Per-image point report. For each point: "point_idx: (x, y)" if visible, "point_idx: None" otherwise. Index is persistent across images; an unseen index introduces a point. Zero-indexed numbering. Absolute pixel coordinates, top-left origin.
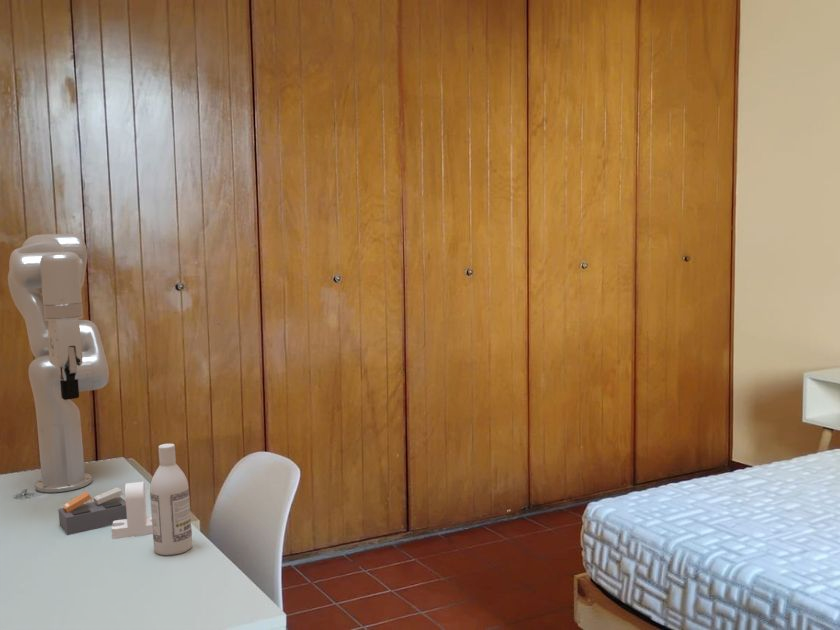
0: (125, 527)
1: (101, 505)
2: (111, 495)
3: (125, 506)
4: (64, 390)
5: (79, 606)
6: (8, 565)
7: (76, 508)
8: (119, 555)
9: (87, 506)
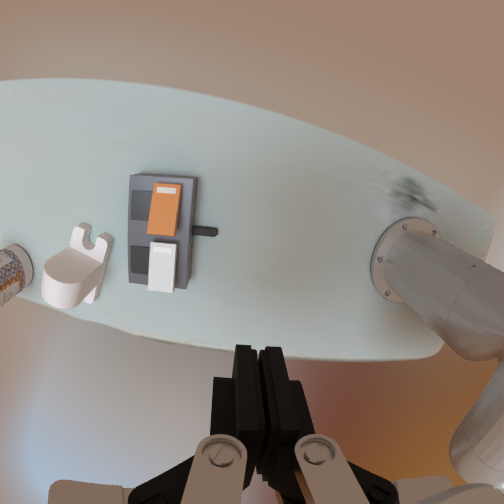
0: (71, 243)
1: None
2: (149, 269)
3: (129, 275)
4: (235, 386)
5: None
6: (86, 80)
7: None
8: (29, 209)
9: None
